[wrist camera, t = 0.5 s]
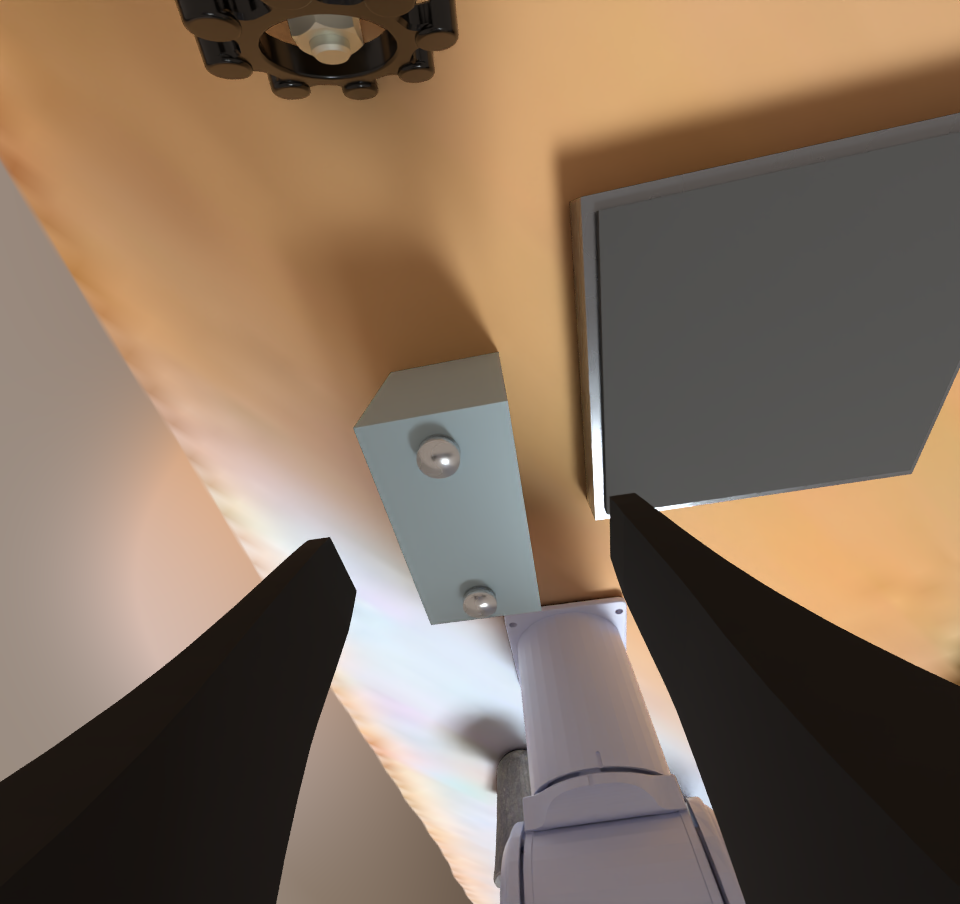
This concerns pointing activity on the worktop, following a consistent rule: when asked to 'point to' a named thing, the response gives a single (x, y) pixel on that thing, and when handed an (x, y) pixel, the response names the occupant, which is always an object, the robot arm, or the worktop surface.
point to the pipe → (510, 800)
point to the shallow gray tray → (769, 319)
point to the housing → (453, 487)
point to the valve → (321, 41)
